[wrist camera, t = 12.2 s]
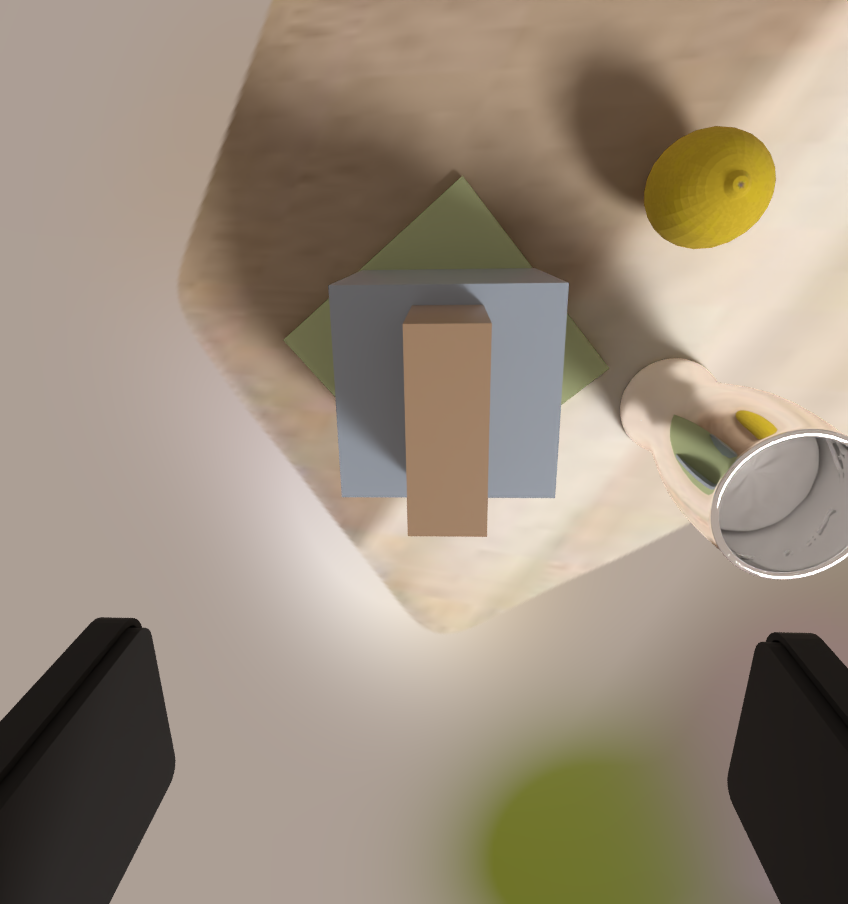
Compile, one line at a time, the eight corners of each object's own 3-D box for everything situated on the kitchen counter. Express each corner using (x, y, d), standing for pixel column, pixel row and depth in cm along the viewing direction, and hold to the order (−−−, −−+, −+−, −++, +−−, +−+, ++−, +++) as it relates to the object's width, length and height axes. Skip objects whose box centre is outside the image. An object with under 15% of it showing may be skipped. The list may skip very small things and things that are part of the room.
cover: (535, 268, 35) (599, 296, 20) (528, 429, 38) (578, 557, 23) (362, 270, 36) (297, 299, 20) (369, 429, 39) (318, 555, 24)
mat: (462, 176, 34) (462, 175, 34) (606, 366, 37) (609, 368, 37) (285, 338, 38) (283, 340, 37) (432, 499, 41) (432, 502, 40)
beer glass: (679, 326, 36) (824, 386, 22) (749, 406, 38) (925, 510, 24) (588, 405, 38) (669, 506, 24) (658, 478, 40) (772, 614, 26)
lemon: (606, 206, 34) (649, 199, 27) (676, 116, 33) (743, 82, 25) (678, 267, 35) (740, 276, 28) (750, 182, 34) (836, 168, 26)
